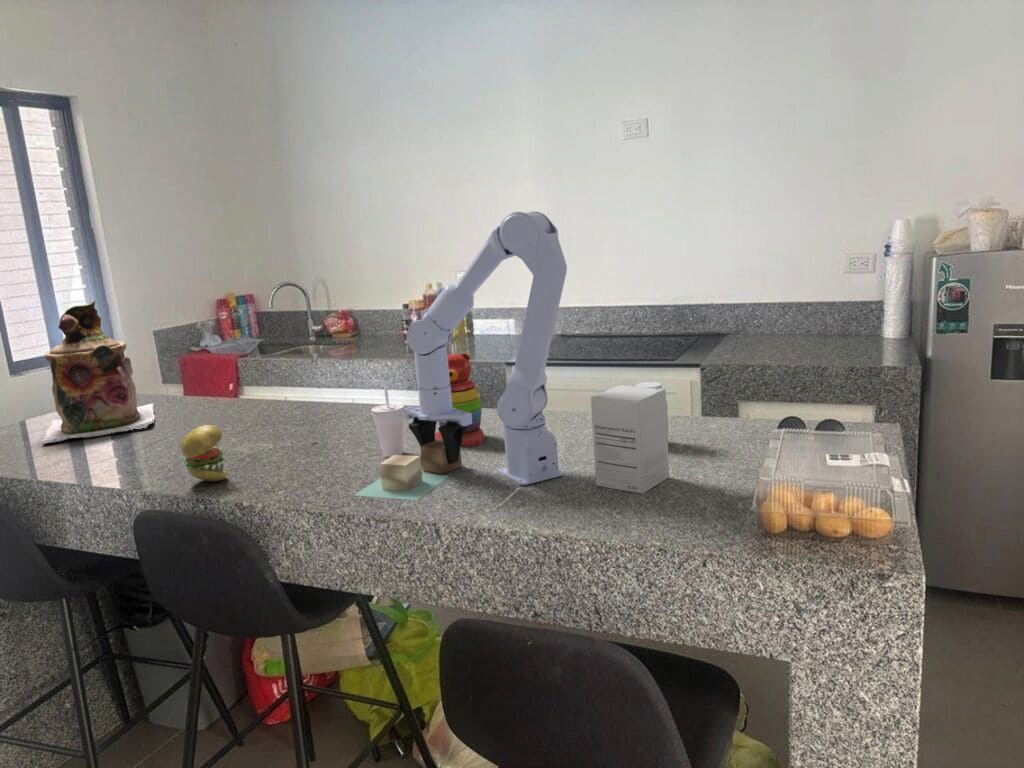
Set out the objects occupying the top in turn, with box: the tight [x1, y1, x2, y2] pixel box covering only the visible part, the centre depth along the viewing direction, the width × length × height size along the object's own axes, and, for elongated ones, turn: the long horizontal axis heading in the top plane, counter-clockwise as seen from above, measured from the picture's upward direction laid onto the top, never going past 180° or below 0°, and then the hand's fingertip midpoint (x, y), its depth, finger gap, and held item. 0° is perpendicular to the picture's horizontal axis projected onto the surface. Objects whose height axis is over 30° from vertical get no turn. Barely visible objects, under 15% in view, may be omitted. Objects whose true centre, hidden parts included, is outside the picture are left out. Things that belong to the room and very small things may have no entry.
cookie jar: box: [40, 299, 156, 446], centre depth 187 cm, size 25×25×32 cm
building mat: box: [352, 473, 450, 501], centre depth 128 cm, size 12×12×1 cm
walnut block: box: [419, 439, 463, 475], centre depth 135 cm, size 5×5×4 cm
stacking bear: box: [435, 353, 485, 447], centre depth 152 cm, size 11×10×18 cm
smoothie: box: [370, 385, 405, 458], centre depth 145 cm, size 6×6×14 cm
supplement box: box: [590, 385, 670, 495], centre depth 120 cm, size 9×9×15 cm
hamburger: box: [180, 421, 228, 482], centre depth 137 cm, size 8×7×12 cm
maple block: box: [379, 454, 423, 491], centre depth 127 cm, size 5×5×4 cm
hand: (441, 460), depth 135 cm, fingers closed on walnut block, 5 cm apart
